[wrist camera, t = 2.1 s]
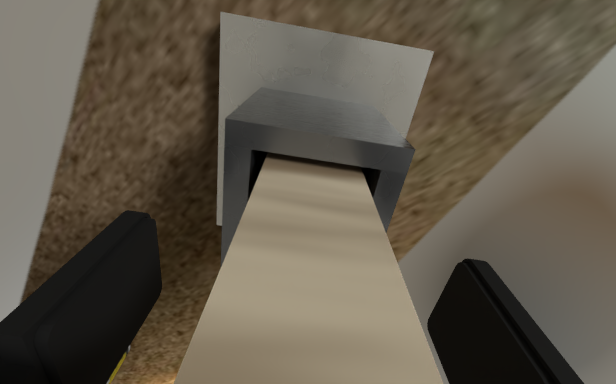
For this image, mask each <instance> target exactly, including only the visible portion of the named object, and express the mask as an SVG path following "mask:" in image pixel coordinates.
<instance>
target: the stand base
mask: <svg viewBox="0 0 616 384" xmlns="http://www.w3.org/2000/svg"><path fill="white" fill-rule="evenodd" d="M433 53H434V51H429V50H423V49H418V48H413V47H407V46H402V45H397V44H391V43H386V42H380V41H375V40H370V39H364V38H359V37H354V36H348V35H343V34H337V33H332V32H327V31H321V30H316V29H310V28H305V27H300V26H294V25H289V24H284V23H278V22H273V21H267V20H262V19H257V18H251V17H246V16H241V15H235V14H230V13H224V12H221V19H220V72H219V125H218V178H217V225H220V226H222V243H221V266H222V264H223V262H224V259H225V257H226V254H227V252H228V249H229V247H230V244H231V242H232V239H233V237H234V235H235V232H236V230H237V227H238V225H239V222H240V220H241V217H242V215H243V213H244V210H245V208H246V205H247V203H248V200H249V198H250V195H251V193H252V191H253V188H254V186H255V183H256V181H257V178H258V176H259V173H260V171H261V169H262V166H263V164H264V161H265V159H266V156H267V154H268V152H271V153H278V154H284V155H290V156H297V157H303V158H309V159H316V160H322V161H328V162H335V163H341V164H347V165H353V166H360V167H361V169H362V172H363V174H364V177H365V179H366V182H367V185H368V187H369V190H370V193H371V195H372V198H373V200H374V203H375V206H376V208H377V211H378V214H379V216H380V219H381V221H382V224H383V227H384V229H385V232H387V229H388V226H389V223H390V220H391V218H392V215H393V212H394V209H395V206H396V203H397V200H398V198H399V195H400V192H401V189H402V186H403V183H404V180H405V178H406V175H407V172H408V169H409V166H410V163H411V160H412V158H413V155H414V152H415V149H414V148H413V147H412V145H411V144H410V143H409V142H408V141H407V140H406V139H405V138H406V135H407V132H408V129H409V126H410V123H411V120H412V117H413V114H414V111H415V108H416V105H417V102H418V99H419V96H420V93H421V90H422V87H423V83H424V80H425V77H426V74H427V71H428V68H429V65H430V62H431V59H432V56H433Z"/></svg>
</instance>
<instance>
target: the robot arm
mask: <svg viewBox="0 0 616 384" xmlns="http://www.w3.org/2000/svg"><path fill="white" fill-rule="evenodd" d="M161 289H162V280H161V270H160V260H159V249H158V239H157V229H156V221H155V220H154V219H151V217H150V215H149V214H148V213H143V212H136V211H129V210H128V211H125V212H123V213H122V214H121V215H120V216H119V217H118V218H116V219H115V220H114V221H113V222H112V223H111V224H110V225H109V226H107V227H106V228H105V229H104V230H103V231H102V232H101V233H100V234H99V235H97V236H96V237H95V238H94V239H93V240H92V241H91V242H90V243H88V244H87V245H86V246H85V247H84V248H83V249H82V250H81V251H79V252H78V253H77V254H76V255H75V256H74V257H73V258H72V259H71V260H69V261H68V262H67V263H66V264H65V265H64V266H63V267H62V268H60V269H59V270H58V271H57V272H56V273H55V274H54V275H53V276H52V277H50V278H49V279H48V280H47V281H46V282H45V283H44V284H43V285H41V286H40V287H39V288H38V289H37V290H36V291H35V292H34V293H32V294H31V295H30V296H29V297H28V298H27V299H26V300H25V301H24V302H22V303H21V304H20V305H19V306H18V307H17V308H16V309H15V310H14V311H12V312H11V313H10V314H9V315H8V316H7V317H6V318H5V319H3V320H2V321H1V322H0V384H106V383H107V382H108V380H109V378H110V377H111V375H112V373H113V372H114V370H115V369H116V367H117V365H118V364H119V362H120V360H121V359H122V357H123V355H124V354H125V352H126V350H127V349H128V347H129V345H130V344H131V342H132V340H133V339H134V337H135V336H136V334H137V332H138V331H139V329H140V327H141V326H142V324H143V322H144V321H145V319H146V317H147V316H148V314H149V312H150V311H151V309H152V307H153V306H154V304H155V303H156V301H157V299H158V297H159V296H160V293H161ZM427 324H428V331H429V334H430V336H431V339H432V341H433V344H434V346H435V349H436V351H437V354H438V356H439V359H440V361H441V364H442V366H443V369H444V371H445V374H446V376H447V379H448V381H449V384H584V383H583V382H582V380H581V379H580V378H579V377H578V375H577V374H576V373H575V372H574V370H573V369H572V368H571V367H570V366H569V364H568V363H567V362H566V360H565V359H564V358H563V357H562V355H561V354H560V353H559V351H558V350H557V349H556V348H555V347H554V345H553V344H552V343H551V341H550V340H549V339H548V338H547V336H546V335H545V334H544V333H543V331H542V330H541V329H540V328H539V326H538V325H537V324H536V323H535V321H534V320H533V319H532V318H531V316H530V315H529V314H528V313H527V311H526V310H525V309H524V307H523V306H522V305H521V304H520V302H519V301H518V300H517V299H516V297H514V295H513V294H512V292H511V291H510V290H509V289H508V287H507V286H506V285H505V284H504V282H503V281H502V280H501V279H500V277H499V276H498V275H497V274H496V272H495V271H494V270H493V268H492V267H491V266H490V265H489V264H488V263H487V262H485V261H480V260H474V259H464V260H463V261H462V262H460V263H458V264H457V265H456V267H455V269H454V271H453V273H452V275H451V276H450V278H449V280H448V282H447V284H446V286H445V288H444V290H443V292H442V294H441V296H440V298H439V300H438V302H437V303H436V305H435V307H434V309H433V311H432V313H431V315H430V317H429V319H428V323H427Z"/></svg>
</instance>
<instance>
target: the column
mask: <svg viewBox="0 0 616 384" xmlns="http://www.w3.org/2000/svg"><path fill="white" fill-rule="evenodd" d="M174 384H443V381H442V379H441V376H440V374H439V371H438V368H437V366H436V363H435V361H434V358H433V355H432V353H431V350H430V347H429V345H428V343H427V340H426V337H425V334H424V332H423V329H422V326H421V324H420V321H419V319H418V316H417V313H416V311H415V308H414V306H413V303H412V300H411V298H410V295H409V292H408V290H407V287H406V284H405V282H404V279H403V277H402V274H401V271H400V269H399V266H398V263H397V261H396V258H395V256H394V253H393V250H392V248H391V245H390V242H389V240H388V237H387V235H386V232H385V229H384V227H383V224H382V221H381V219H380V216H379V214H378V211H377V208H376V206H375V203H374V200H373V198H372V195H371V193H370V190H369V187H368V185H367V182H366V179H365V177H364V174H363V172H362V169H361V167H360V166H353V165H347V164H341V163H335V162H328V161H322V160H316V159H309V158H303V157H297V156H290V155H284V154H278V153H271V152H268V154H267V156H266V159H265V161H264V164H263V166H262V169H261V171H260V173H259V176H258V178H257V181H256V183H255V186H254V188H253V191H252V193H251V195H250V198H249V200H248V203H247V205H246V208H245V210H244V213H243V215H242V217H241V220H240V222H239V225H238V227H237V230H236V232H235V235H234V237H233V239H232V242H231V244H230V247H229V249H228V252H227V254H226V257H225V259H224V262H223V264H222V266H221V269H220V271H219V274H218V276H217V279H216V281H215V284H214V286H213V288H212V291H211V293H210V296H209V298H208V301H207V303H206V306H205V308H204V310H203V313H202V315H201V318H200V320H199V323H198V325H197V328H196V330H195V332H194V335H193V337H192V340H191V342H190V345H189V347H188V350H187V352H186V354H185V357H184V359H183V362H182V364H181V367H180V369H179V372H178V374H177V377H176V379H175V381H174Z"/></svg>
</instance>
